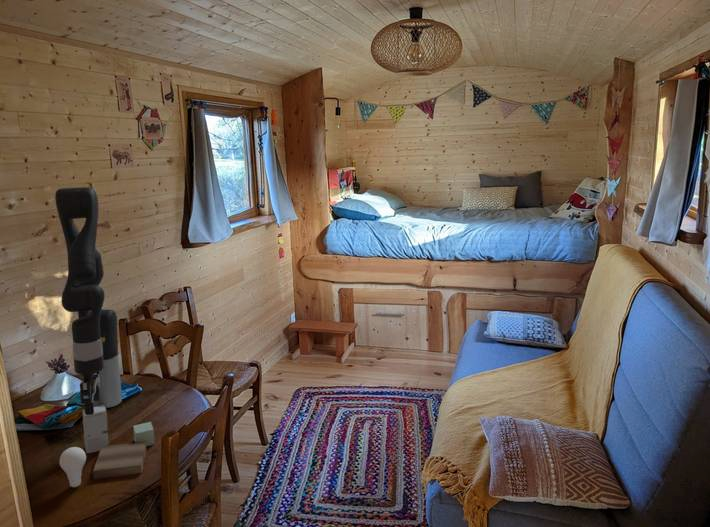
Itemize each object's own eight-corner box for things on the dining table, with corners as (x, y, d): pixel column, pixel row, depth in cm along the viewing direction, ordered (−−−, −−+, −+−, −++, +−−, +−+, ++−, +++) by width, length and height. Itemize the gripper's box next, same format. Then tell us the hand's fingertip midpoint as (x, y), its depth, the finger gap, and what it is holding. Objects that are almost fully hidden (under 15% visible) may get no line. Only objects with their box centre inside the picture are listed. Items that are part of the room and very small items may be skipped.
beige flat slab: (102, 455, 155) (101, 446, 154) (146, 450, 158) (146, 441, 157) (93, 480, 144) (93, 470, 143) (141, 475, 147) (141, 465, 146)
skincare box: (86, 454, 155) (83, 416, 152) (84, 447, 158) (81, 409, 155) (110, 448, 158) (106, 410, 155) (107, 441, 162) (104, 404, 159)
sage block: (134, 440, 162) (133, 425, 161) (151, 436, 165) (150, 421, 164) (136, 448, 158) (135, 433, 157) (154, 444, 161) (153, 429, 159)
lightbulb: (68, 479, 143) (64, 442, 141) (92, 478, 144) (88, 442, 141) (58, 494, 137) (53, 455, 135) (83, 493, 138) (79, 455, 135)
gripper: (79, 346, 157) (84, 397, 161) (67, 365, 144) (72, 420, 147) (107, 344, 159) (111, 395, 163) (97, 363, 146) (102, 417, 149)
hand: (92, 407), depth 155 cm, fingers open, 8 cm apart
